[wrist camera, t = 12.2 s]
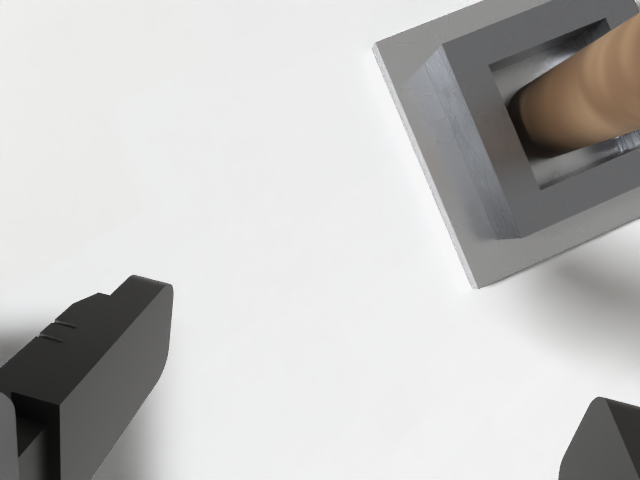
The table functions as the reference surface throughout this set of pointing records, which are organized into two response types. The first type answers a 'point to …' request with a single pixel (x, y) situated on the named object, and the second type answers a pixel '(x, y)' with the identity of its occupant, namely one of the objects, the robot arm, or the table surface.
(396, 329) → the table surface
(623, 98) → the pin
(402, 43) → the collar
